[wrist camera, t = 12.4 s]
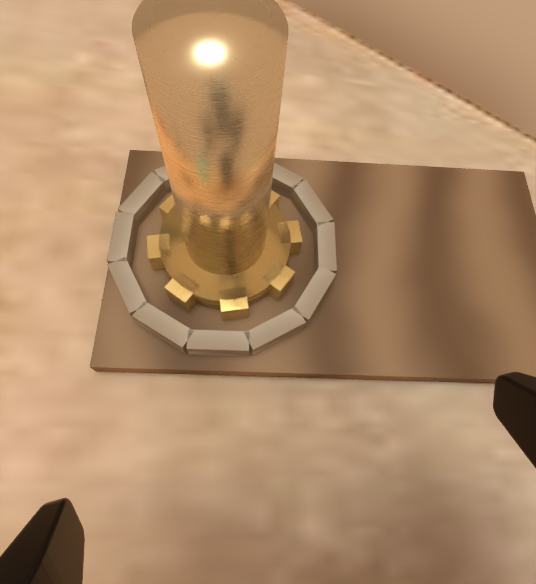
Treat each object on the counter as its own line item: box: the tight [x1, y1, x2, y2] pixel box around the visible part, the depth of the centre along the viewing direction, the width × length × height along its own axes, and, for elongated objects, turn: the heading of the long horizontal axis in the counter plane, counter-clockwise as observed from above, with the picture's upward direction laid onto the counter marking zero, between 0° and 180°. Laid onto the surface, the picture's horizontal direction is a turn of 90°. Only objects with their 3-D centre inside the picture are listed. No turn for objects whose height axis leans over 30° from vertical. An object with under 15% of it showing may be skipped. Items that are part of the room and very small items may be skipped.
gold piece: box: [132, 0, 303, 321], centre depth 18 cm, size 8×8×14 cm
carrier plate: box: [90, 150, 536, 383], centre depth 25 cm, size 26×14×2 cm, turn 89°
